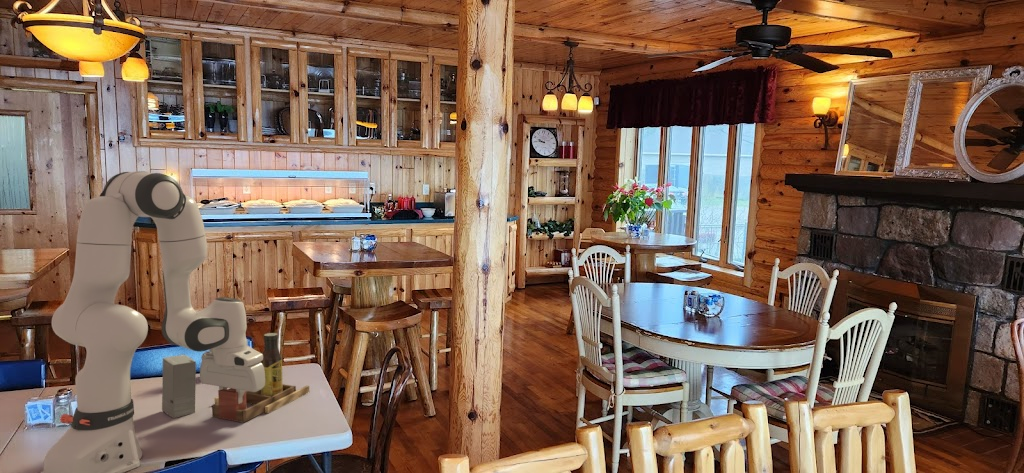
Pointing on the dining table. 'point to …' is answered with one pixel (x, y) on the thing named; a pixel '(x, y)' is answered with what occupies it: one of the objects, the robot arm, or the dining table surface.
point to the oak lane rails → (281, 401)
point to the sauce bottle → (272, 366)
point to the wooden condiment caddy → (240, 412)
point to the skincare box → (178, 385)
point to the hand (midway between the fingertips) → (232, 402)
